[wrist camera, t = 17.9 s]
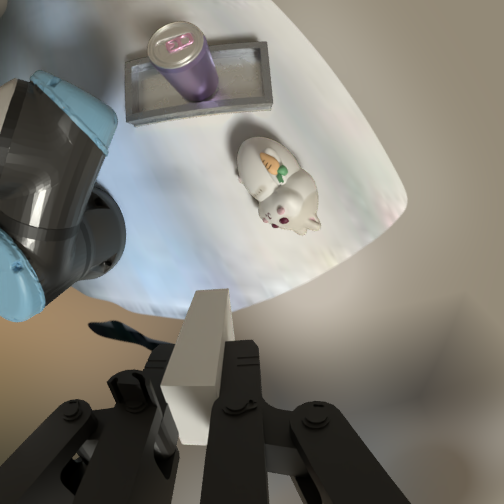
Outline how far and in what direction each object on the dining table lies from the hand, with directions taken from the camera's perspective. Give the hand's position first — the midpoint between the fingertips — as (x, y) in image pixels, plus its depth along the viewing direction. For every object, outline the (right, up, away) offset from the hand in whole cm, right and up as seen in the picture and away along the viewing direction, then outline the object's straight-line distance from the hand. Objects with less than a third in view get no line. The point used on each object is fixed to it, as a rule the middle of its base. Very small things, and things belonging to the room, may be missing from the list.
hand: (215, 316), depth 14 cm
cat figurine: (+5, +13, +28) cm, 32 cm away
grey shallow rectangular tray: (-6, +27, +24) cm, 37 cm away
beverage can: (-6, +27, +23) cm, 36 cm away
